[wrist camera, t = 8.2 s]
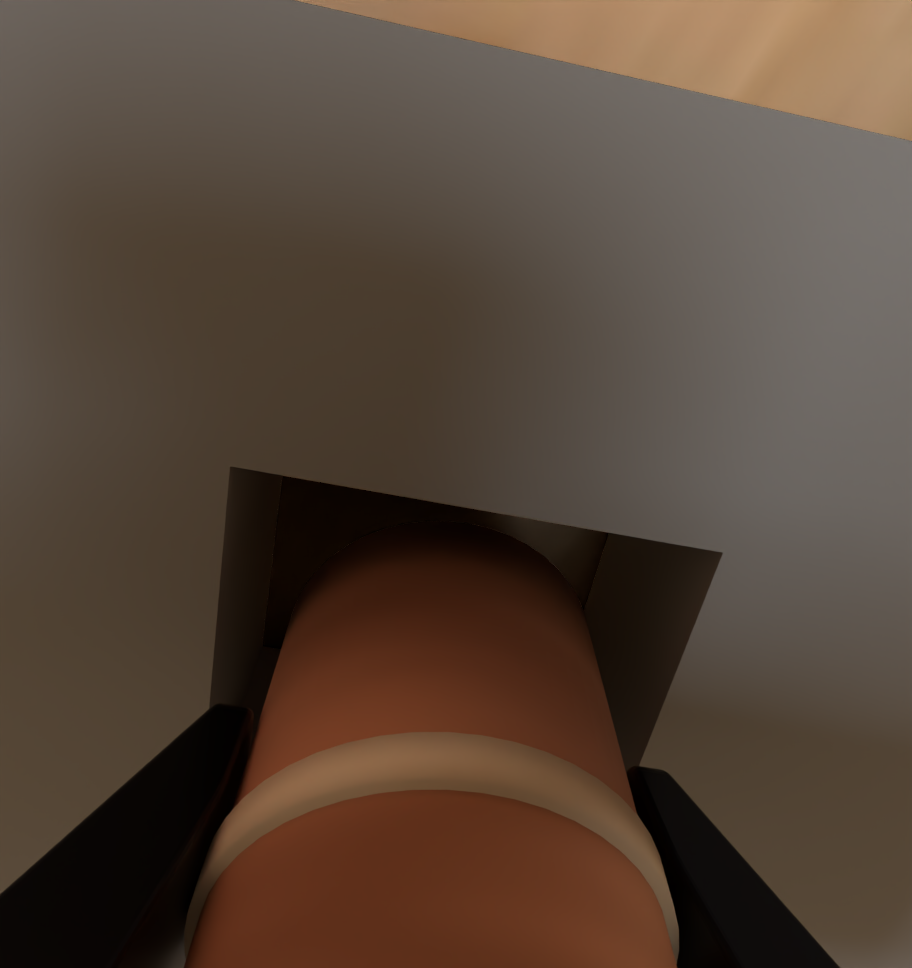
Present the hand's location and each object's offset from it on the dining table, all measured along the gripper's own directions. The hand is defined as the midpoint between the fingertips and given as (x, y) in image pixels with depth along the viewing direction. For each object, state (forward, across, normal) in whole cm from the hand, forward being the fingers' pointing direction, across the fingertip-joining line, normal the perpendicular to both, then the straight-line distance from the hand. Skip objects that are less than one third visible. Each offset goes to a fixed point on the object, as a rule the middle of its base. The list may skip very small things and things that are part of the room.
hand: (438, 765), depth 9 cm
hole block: (+5, 0, 0) cm, 5 cm away
